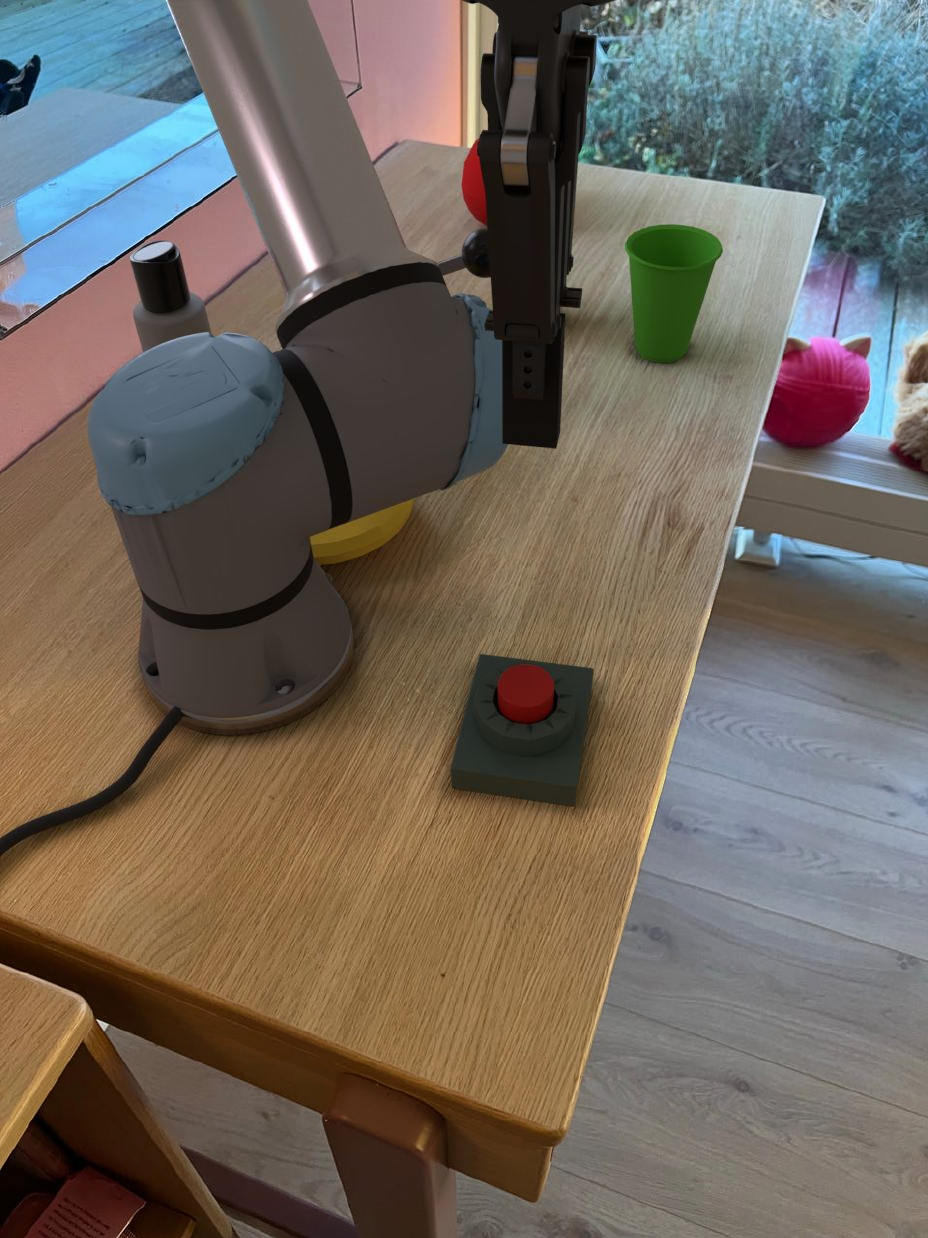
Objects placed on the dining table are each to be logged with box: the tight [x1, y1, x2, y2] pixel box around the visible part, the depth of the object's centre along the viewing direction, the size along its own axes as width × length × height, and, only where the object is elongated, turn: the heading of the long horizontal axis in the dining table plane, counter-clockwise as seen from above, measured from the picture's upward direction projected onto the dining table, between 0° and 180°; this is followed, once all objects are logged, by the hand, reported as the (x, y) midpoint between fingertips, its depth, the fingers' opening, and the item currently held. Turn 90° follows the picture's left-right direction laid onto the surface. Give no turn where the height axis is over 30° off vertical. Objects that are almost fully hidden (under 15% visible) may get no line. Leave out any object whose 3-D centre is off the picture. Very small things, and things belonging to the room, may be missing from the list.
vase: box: [310, 498, 415, 566], centre depth 81 cm, size 16×16×7 cm
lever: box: [436, 227, 491, 279], centre depth 81 cm, size 15×4×4 cm, turn 48°
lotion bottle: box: [129, 239, 212, 353], centre depth 83 cm, size 6×6×20 cm
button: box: [498, 664, 554, 724], centre depth 64 cm, size 4×4×2 cm
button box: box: [450, 653, 595, 807], centre depth 66 cm, size 10×8×4 cm
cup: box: [624, 223, 724, 364], centre depth 98 cm, size 9×9×11 cm
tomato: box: [460, 137, 487, 227], centre depth 119 cm, size 12×12×11 cm
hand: (531, 437), depth 50 cm, fingers closed
